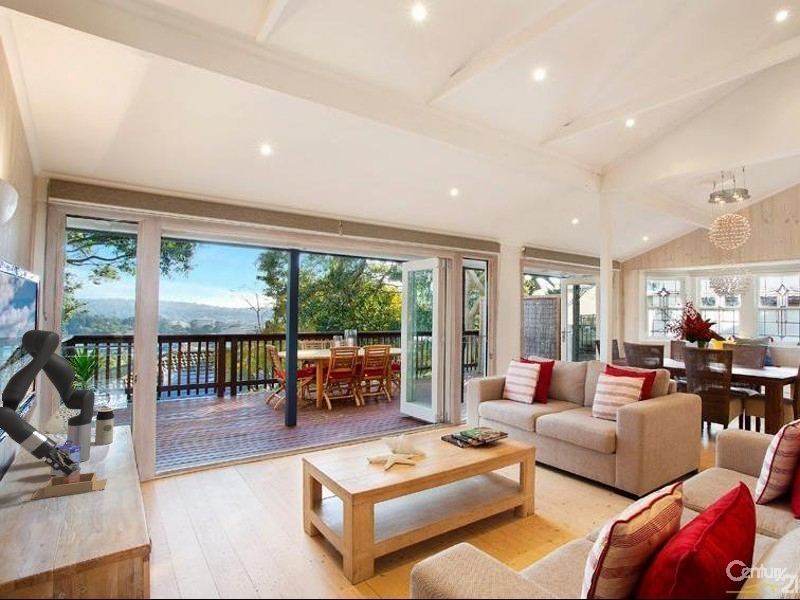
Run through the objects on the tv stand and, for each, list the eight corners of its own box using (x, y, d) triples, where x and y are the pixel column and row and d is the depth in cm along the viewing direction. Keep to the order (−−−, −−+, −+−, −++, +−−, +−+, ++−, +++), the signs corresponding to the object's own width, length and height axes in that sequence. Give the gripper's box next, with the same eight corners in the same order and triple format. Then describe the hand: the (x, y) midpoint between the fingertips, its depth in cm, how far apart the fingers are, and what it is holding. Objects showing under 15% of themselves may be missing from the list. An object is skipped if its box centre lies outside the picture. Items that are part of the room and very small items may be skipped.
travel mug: (93, 442, 239) (95, 408, 239) (111, 440, 244) (112, 407, 245) (96, 446, 233) (98, 411, 233) (114, 443, 238) (115, 409, 239)
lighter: (73, 485, 182) (74, 461, 183) (82, 485, 183) (83, 461, 183) (60, 493, 174) (61, 467, 175) (69, 493, 175) (70, 467, 175)
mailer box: (40, 485, 181) (41, 475, 182) (108, 476, 192) (108, 467, 193) (31, 499, 168) (31, 489, 168) (104, 489, 179) (104, 479, 179)
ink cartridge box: (80, 473, 195) (81, 440, 195) (68, 478, 190) (70, 444, 190) (61, 471, 197) (63, 438, 197) (49, 475, 192) (51, 442, 192)
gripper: (43, 441, 169) (78, 468, 174) (51, 432, 181) (83, 457, 186) (24, 457, 166) (60, 483, 171) (33, 446, 179) (67, 471, 184)
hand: (72, 469), depth 179 cm, fingers open, 8 cm apart
